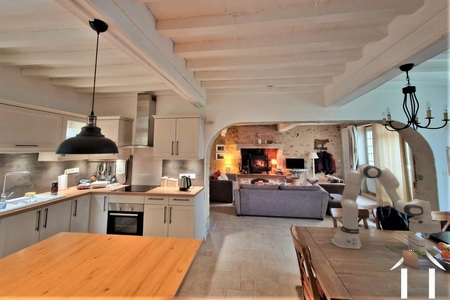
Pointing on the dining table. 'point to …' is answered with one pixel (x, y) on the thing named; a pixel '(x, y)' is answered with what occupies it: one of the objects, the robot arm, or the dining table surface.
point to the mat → (399, 251)
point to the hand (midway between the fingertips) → (425, 238)
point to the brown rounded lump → (410, 258)
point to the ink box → (416, 244)
